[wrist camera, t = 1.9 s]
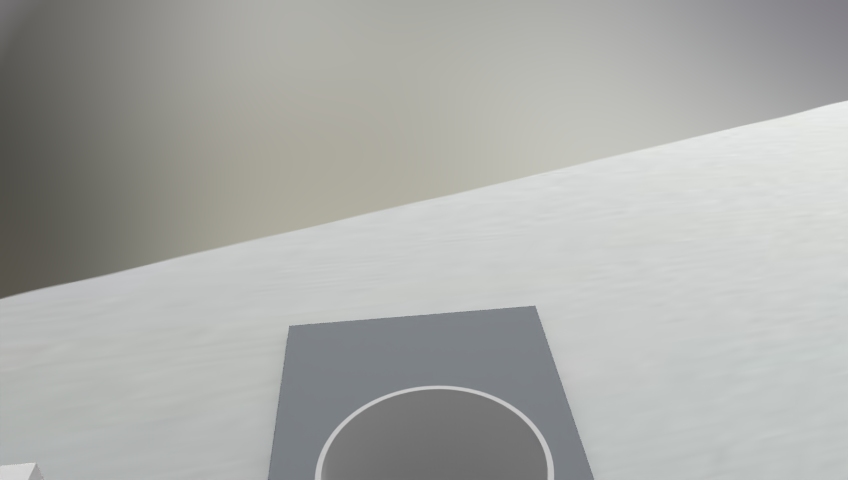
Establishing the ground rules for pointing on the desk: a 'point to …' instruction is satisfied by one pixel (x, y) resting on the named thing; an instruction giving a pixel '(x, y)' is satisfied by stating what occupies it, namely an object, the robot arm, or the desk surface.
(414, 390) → the cup
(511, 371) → the mat
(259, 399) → the desk surface
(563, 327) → the desk surface
